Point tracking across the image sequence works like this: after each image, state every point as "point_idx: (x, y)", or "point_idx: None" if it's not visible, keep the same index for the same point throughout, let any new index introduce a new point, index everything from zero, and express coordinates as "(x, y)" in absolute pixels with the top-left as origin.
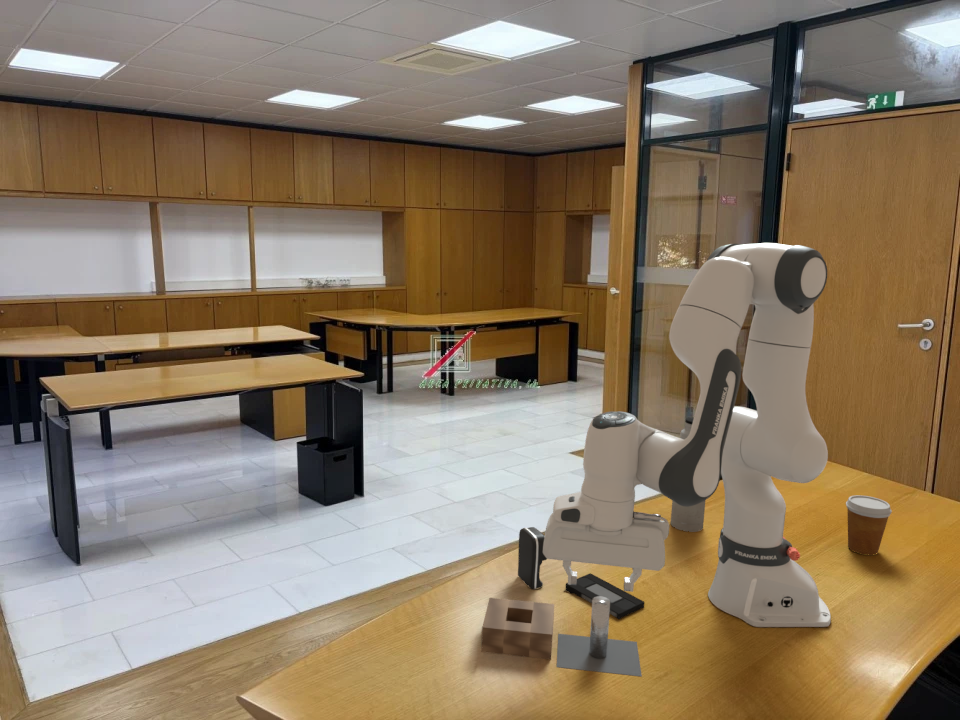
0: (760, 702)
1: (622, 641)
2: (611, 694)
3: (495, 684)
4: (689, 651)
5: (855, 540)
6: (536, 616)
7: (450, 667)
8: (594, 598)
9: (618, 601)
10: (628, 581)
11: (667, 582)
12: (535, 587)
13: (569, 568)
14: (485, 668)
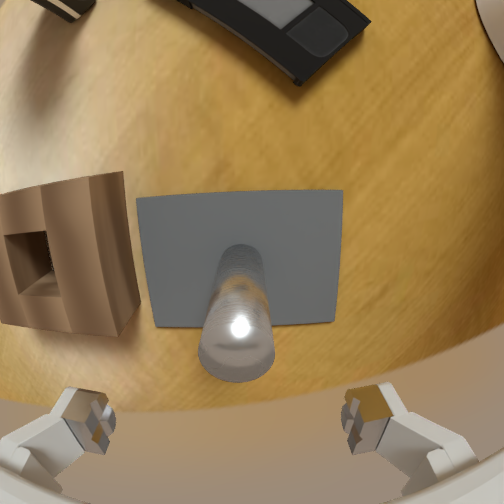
0: (483, 319)
1: (306, 196)
2: (268, 370)
3: (81, 368)
4: (443, 201)
5: None
6: (61, 262)
7: (18, 335)
8: (206, 345)
9: (300, 20)
10: (370, 448)
11: None
12: (77, 16)
13: (55, 457)
14: (52, 334)
